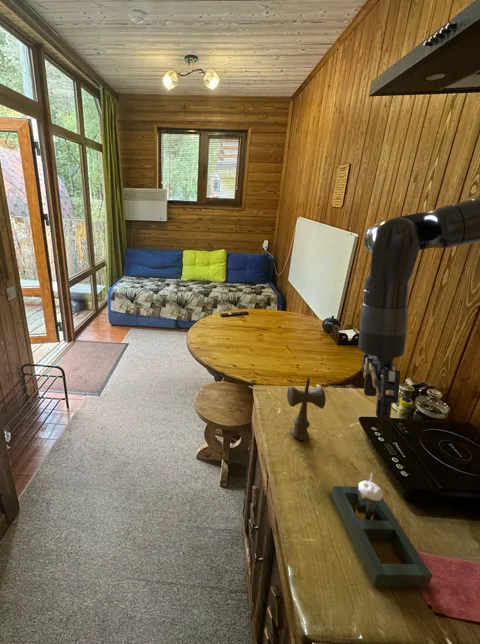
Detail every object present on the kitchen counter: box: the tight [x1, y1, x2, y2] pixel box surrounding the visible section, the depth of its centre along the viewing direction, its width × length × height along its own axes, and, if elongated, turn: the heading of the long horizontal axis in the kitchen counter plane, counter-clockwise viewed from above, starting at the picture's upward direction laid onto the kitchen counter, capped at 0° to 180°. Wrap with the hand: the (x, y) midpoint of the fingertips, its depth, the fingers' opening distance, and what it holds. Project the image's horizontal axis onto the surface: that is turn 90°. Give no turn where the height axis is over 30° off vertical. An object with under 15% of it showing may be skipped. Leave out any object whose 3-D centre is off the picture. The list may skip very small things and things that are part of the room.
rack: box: [330, 485, 433, 587], centre depth 64 cm, size 10×18×3 cm, turn 0°
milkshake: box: [354, 471, 384, 521], centre depth 67 cm, size 4×5×10 cm
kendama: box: [286, 376, 327, 441], centre depth 89 cm, size 6×10×20 cm, turn 88°
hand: (375, 405), depth 61 cm, fingers open, 8 cm apart
